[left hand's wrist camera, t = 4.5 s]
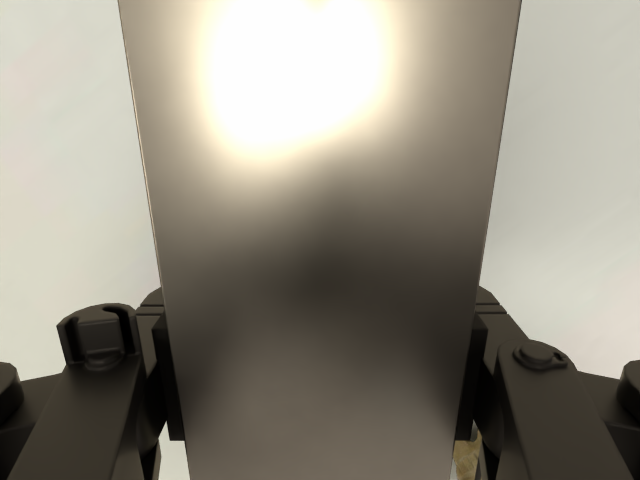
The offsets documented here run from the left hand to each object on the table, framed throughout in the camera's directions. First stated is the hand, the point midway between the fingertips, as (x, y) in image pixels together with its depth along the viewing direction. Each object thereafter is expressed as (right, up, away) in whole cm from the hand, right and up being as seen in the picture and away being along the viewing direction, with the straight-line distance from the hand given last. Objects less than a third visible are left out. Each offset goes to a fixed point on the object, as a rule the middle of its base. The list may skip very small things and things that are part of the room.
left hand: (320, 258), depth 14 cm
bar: (0, +7, -2) cm, 8 cm away
